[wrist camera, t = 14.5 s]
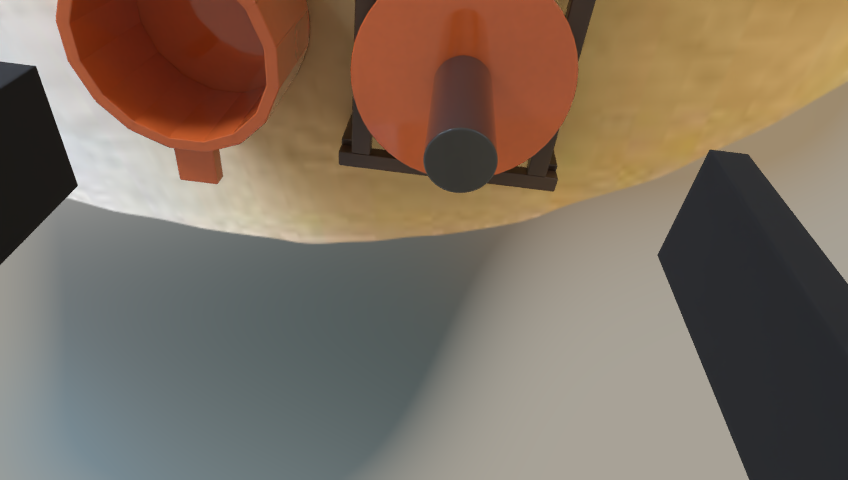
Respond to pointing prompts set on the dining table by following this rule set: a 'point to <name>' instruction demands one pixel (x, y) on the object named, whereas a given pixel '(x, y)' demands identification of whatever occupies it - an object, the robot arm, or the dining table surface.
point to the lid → (464, 83)
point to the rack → (535, 176)
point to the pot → (187, 68)
